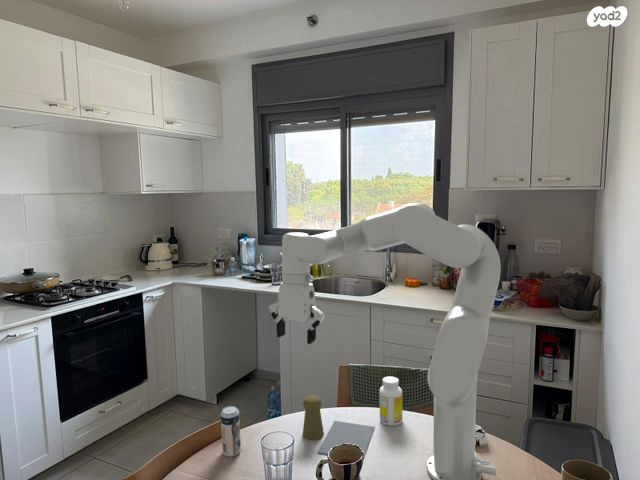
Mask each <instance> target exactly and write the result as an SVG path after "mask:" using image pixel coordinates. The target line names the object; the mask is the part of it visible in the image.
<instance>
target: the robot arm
mask: <svg viewBox="0 0 640 480" xmlns="http://www.w3.org/2000/svg"><path fill="white" fill-rule="evenodd" d="M492 240H493V239H491V238H490V236H488V234H487V233H485V231H483V230H482V229H480V228H478V227H477V226H475V225H472V224H464V223H463V224H459V225H456V224H455V223H452V222H450V221H448V220H446V219H444V218H441V217H440V216H438V215H436V213H435V211H434V210H433V208H432V207H431V206H430V205H428V204H426V203H423V202H414V203H407V204H404V205H402V206H400V207H397V208H395V209H390V210H389V211H388V210H387V211H384V212H381V213H377V214H374V215H371V216H367V217H364V218H363V219H361V221H359V222H357V223H356V222H355V223H354V224H351V225H347V226H344V227H341V228H338V229H335V230H330V231H326V232H321V233H318V234H314V235H309V233H305V232H297V231H296V232H287V233H285V234H283V236H282V240H281V242H282V244H281V245H282V246H281V248H282V249H281V253H282V255H281V259H282V260H281V262H282V263H281V264H282V266H281V267H282V268H281V269H282V270H281V271H282V274H281V282H280V283H279V288H278V294H277V302H274V303H271V304H270V305H268V309H269V312H270V313H271V314H270V316H271V317H272V318H273V320H274V323H275V324H276V338H279V339H280V338H282V337H283V336H285V335H286V320H291V321H294V322H295V321H296V322H302V323H305V324H306V325H307V327H308V329H307V330H306V333H307V334H306V341H307V342H306V343H307V345H311V344H312V343H314V342H315V341H316V339H317V328H318V327H319V326H320V325H321V324H322V323H323V320H324V319H325V316H326V314H325V313H324V312H322V311H321V310H320V309H318V308H317V303H316V295H315V287H314V284H313V283H312V282H314V280H315V276H314V275H313V276H312V274H311V264H313V265H321V264H322V265H323V264H325V263H328V262H330V261H332V260H335V259H338V258H341V257H345V256H349V255H351V254H355V253H359V252H360V253H361V252H364V251H365V252H366V251H371V252H375V251H376V252H377V251H381V250H383V249H387V248H391V247H395V246H399V245H402V244H406V245H408V246H409V247H411V248H413V249H415V250H417V251H419V252H421V253H422V254H424V255H426V256H427V257H430V258H433V259H434V260H436V261H438V262H440V263H441V264H443V265H446V266H448V267H452V268H456V269H460V273H459V278H458V280H457V284H456V289H455V294H454V297H453V299H452V303H451V306H450V307H449V308H450V309H449V311H447V314H446V315H445V318H444V320H443V321H442V323H441V326H440V328H439V331H438V336H437V338H436V341H435V347H434V349H433V354H432V357H431V361H430V363H429V364H430V365H429V368H428V371H427V384H428V387H429V390H430V392H431V393H432V395H433V446H432V447H433V451H432V452H433V454H432V455H431V456H430V457H428V459H427V462H426V471H427V472H428V475H429V476H430V478H431V479H433V480H482V474H487V475H491V476H496V475H497V474H496V465H495V466H494V465H490V460H489V459H481V458H479V457H477V452H476V450H475V449H476V415H477V414H476V413H477V411H476V410H477V387H478V374H479V373H478V372H479V369H480V367H481V362H482V360H483V355H484V352H485V349H486V344H487V340H488V336H489V329H490V319H491V315H492V310H493V308H494V304H495V300H496V296H497V291H498V288H499V284H500V280H501V279H500V278H501V272H502V271H501V268H502V267H501V258H500V255H499V251H498V249H497V247H496V245H495V243H494V242H493V241H492ZM316 317H317V318H316ZM315 318H316V320H315Z"/></svg>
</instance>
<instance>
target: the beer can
mask: <svg viewBox="0 0 640 480" xmlns="http://www.w3.org/2000/svg"><path fill="white" fill-rule="evenodd" d="M240 421H241V420H240V410H239V409H238V407H237V406H234V405H233V406H232V405H229V406H225V407H223V408H222V411H221V412H220V425H221V426H220V427H221V428H220V430H221V445H222V446H221V447H222V454H223V455H224V456H225V457H229V458H232V457H235V456H237V455H239V454H240V453H241V450H242V447H241V425H240V424H241V423H240Z"/></svg>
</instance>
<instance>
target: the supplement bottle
mask: <svg viewBox="0 0 640 480" xmlns="http://www.w3.org/2000/svg"><path fill="white" fill-rule="evenodd" d="M399 381H400V380H399V378H398V377H395V376H390V375H389V376H385V377H383V378H382V386H380V388H379V393H378V394H379V420H380V421H381V423H382V424H384V425H386V426H390V427H395V426H399V425H401V424H402V422H403V390H402V388H401V387H400V386H399V383H400V382H399Z"/></svg>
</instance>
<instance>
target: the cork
mask: <svg viewBox="0 0 640 480" xmlns="http://www.w3.org/2000/svg"><path fill="white" fill-rule="evenodd" d="M322 404H323V403H322V399H321V397H320V396H318V395H315V394H310V395H306V396H305V397H304V399H303V401H302V405H303V408H304V409H305V411H304V419H303V420H304V421H303V429H302V437H303V438H304V439H305V438H306V439H305V440H307V439H308V440H307V441H318V440H320V439H322V438H323V437H324V435H325V433H324V427H323V426H324V425H323V422H322V413H321V408H322Z"/></svg>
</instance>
